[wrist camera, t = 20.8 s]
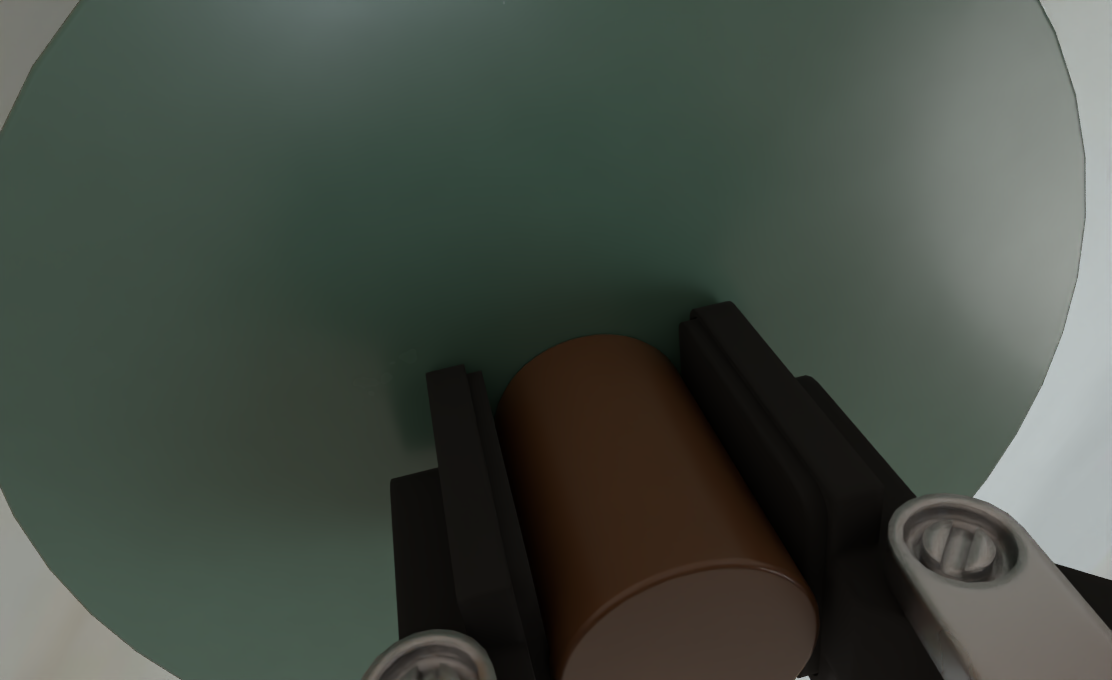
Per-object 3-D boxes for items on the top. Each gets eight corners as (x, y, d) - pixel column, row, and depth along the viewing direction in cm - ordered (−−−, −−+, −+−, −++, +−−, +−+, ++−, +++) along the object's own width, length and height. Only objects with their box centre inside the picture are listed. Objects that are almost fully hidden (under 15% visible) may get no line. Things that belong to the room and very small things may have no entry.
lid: (1224, -69, 11) (1816, -7, 7) (822, 672, 18) (973, 940, 14) (-113, -454, 7) (-1036, -1038, 2) (57, 715, 14) (-81, 1123, 10)
